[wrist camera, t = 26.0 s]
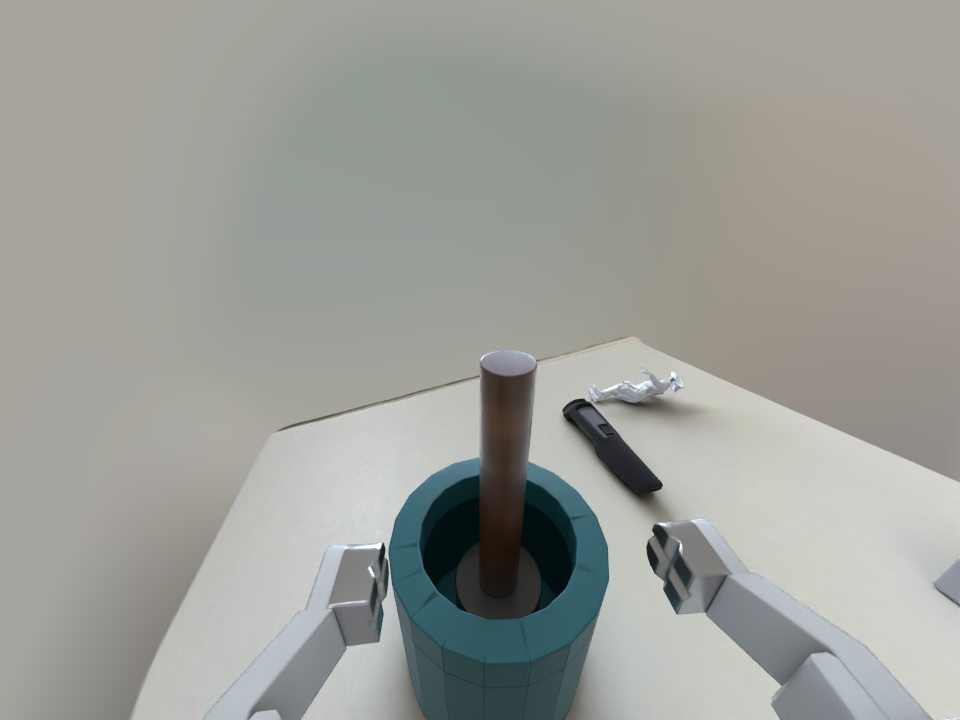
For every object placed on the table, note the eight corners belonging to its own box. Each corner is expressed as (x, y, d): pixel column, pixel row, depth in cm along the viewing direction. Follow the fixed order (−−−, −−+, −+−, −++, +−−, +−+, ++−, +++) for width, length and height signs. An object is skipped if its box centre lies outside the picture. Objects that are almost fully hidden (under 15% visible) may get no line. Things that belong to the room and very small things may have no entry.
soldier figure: (583, 393, 52) (655, 364, 52) (597, 423, 50) (671, 393, 50) (595, 382, 44) (679, 349, 44) (612, 416, 43) (699, 382, 43)
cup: (429, 811, 16) (407, 720, 11) (399, 586, 26) (380, 481, 21) (615, 708, 20) (662, 601, 15) (529, 541, 29) (540, 441, 24)
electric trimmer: (633, 511, 32) (641, 487, 30) (559, 414, 45) (562, 394, 44) (667, 503, 33) (676, 479, 31) (584, 410, 46) (588, 390, 44)
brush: (471, 697, 19) (465, 410, 10) (449, 606, 24) (431, 345, 14) (548, 661, 21) (603, 382, 12) (514, 581, 25) (535, 330, 16)
